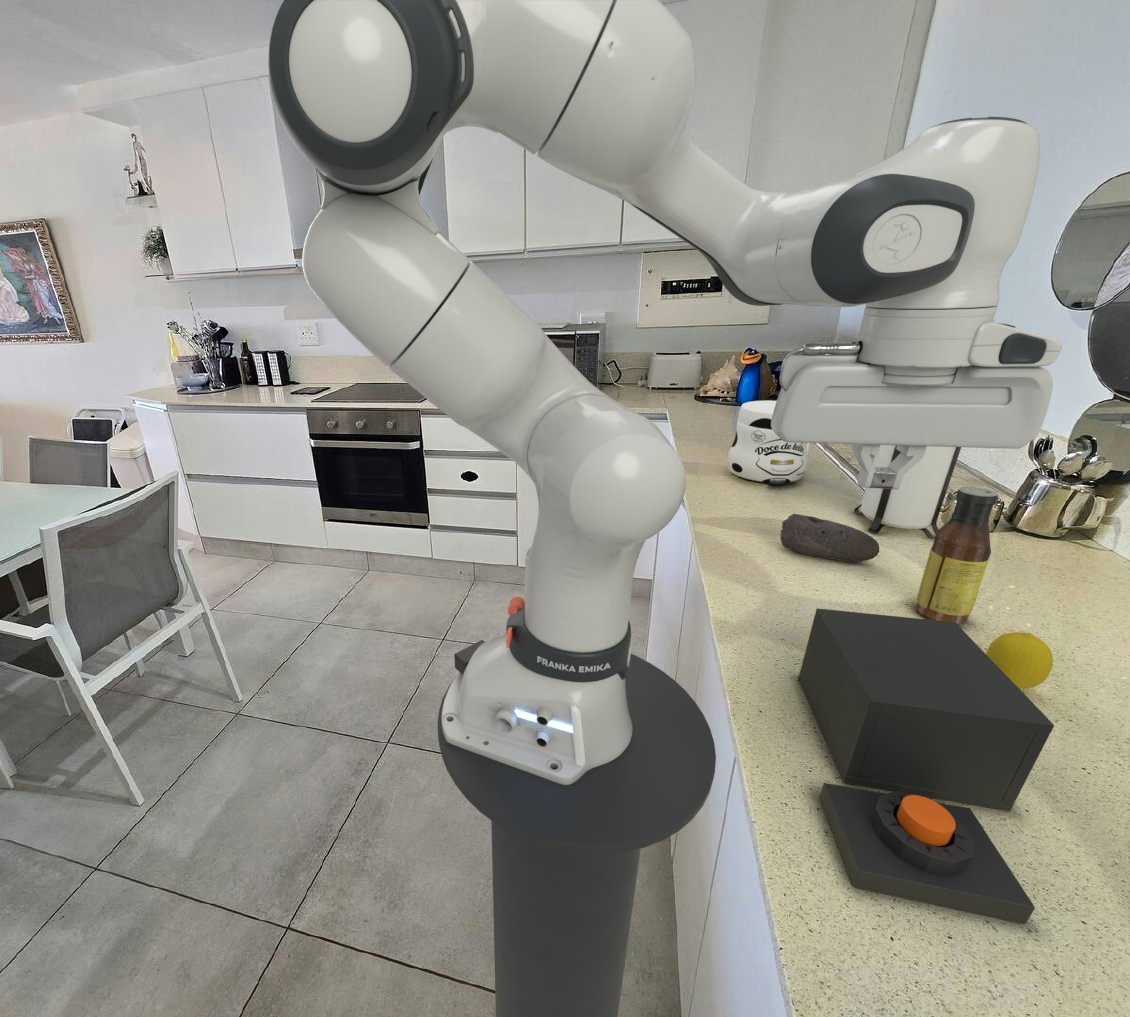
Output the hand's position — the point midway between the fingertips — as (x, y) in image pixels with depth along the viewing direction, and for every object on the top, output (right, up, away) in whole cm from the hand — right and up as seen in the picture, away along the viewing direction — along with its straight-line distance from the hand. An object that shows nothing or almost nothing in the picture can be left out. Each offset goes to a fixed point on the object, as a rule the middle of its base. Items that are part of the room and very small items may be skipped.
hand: (877, 486), depth 53 cm
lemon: (+27, -25, +14) cm, 39 cm away
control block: (0, -34, -4) cm, 34 cm away
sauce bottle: (+31, -18, +28) cm, 46 cm away
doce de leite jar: (+37, +5, +83) cm, 91 cm away
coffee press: (+47, -5, +57) cm, 74 cm away
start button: (-1, -30, -6) cm, 31 cm away
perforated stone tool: (+26, -11, +46) cm, 54 cm away
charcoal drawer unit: (+7, -28, +8) cm, 30 cm away
